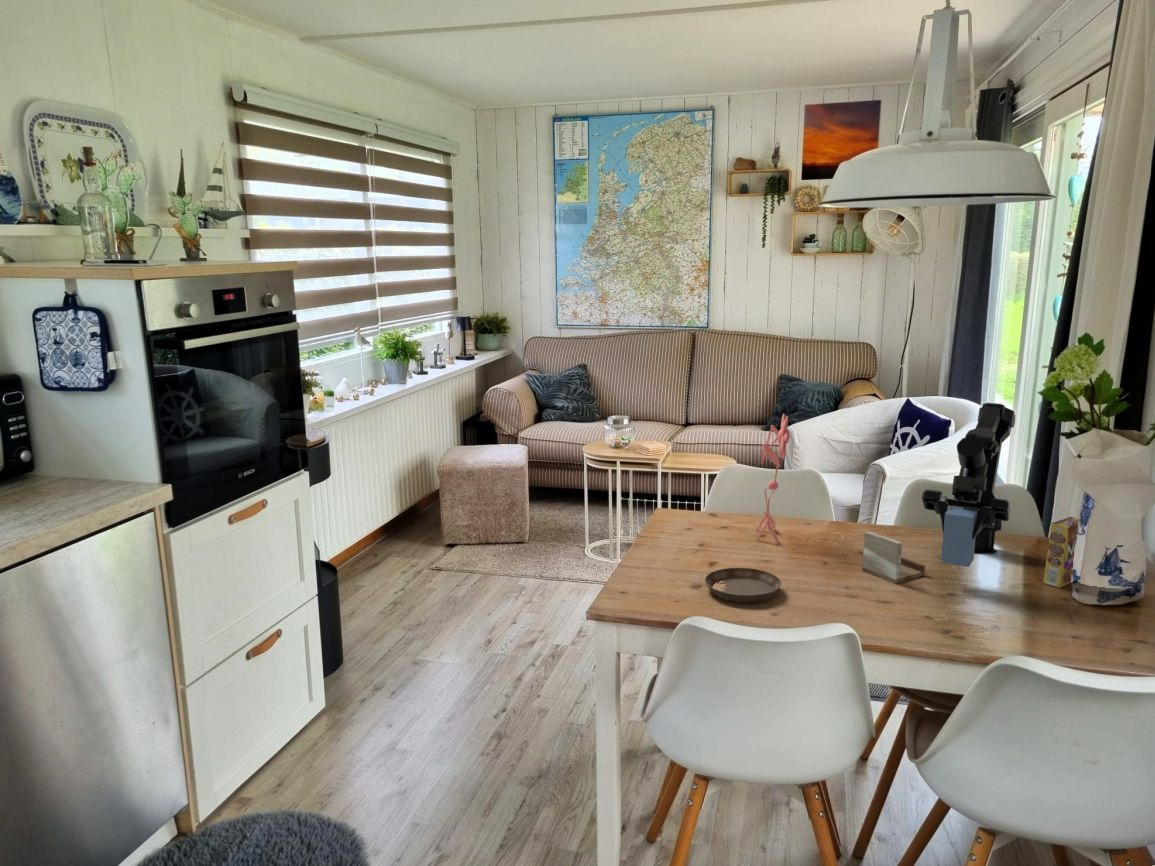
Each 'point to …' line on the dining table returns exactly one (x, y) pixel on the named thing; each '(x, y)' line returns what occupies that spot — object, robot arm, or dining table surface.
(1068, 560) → the candy box
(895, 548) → the wooden stand
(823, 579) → the dining table surface
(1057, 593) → the dining table surface
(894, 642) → the dining table surface
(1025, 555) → the dining table surface
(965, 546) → the blue-grey rectangular block
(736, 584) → the plant saucer
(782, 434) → the figurine
